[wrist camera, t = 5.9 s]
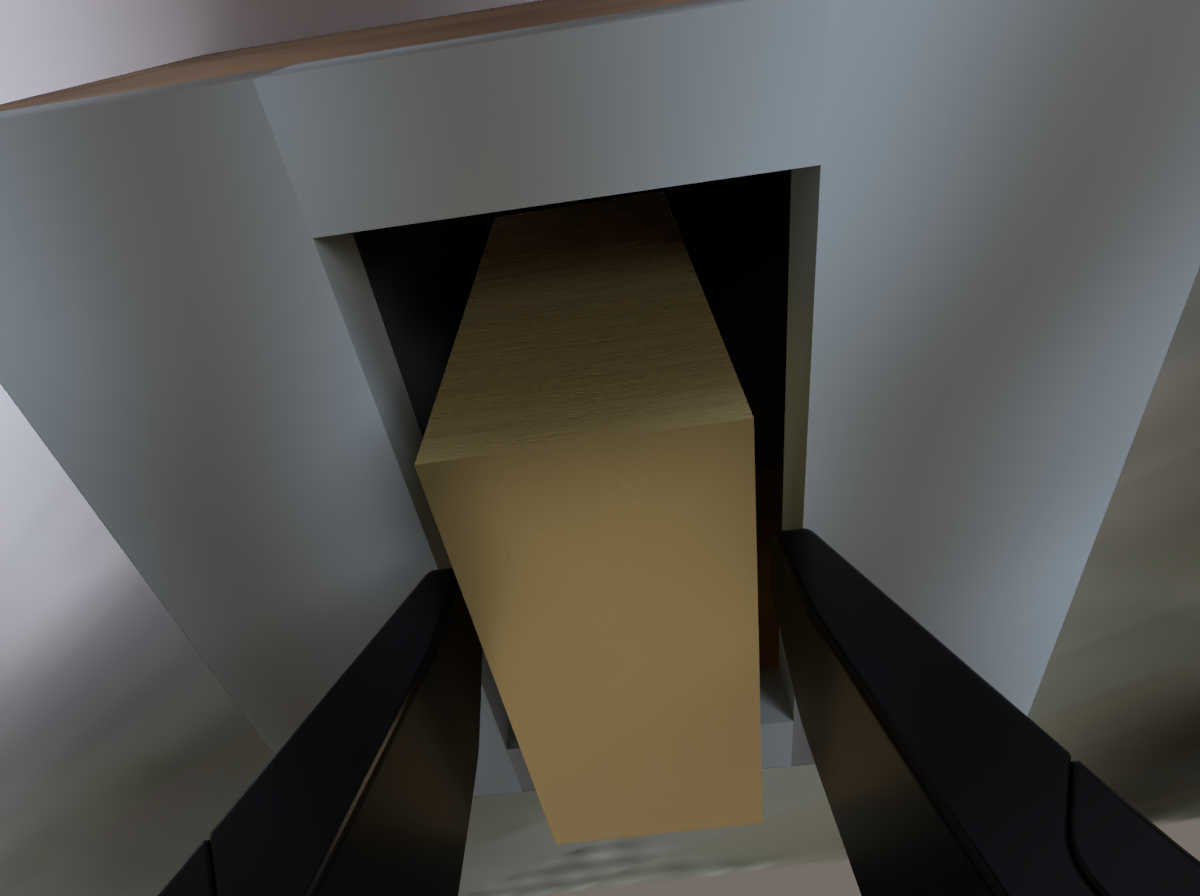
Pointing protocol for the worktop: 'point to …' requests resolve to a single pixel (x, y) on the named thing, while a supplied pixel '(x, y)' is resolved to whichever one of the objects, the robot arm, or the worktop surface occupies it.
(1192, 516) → the worktop surface
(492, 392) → the wooden rectangular block
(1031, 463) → the coin box
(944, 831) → the robot arm
